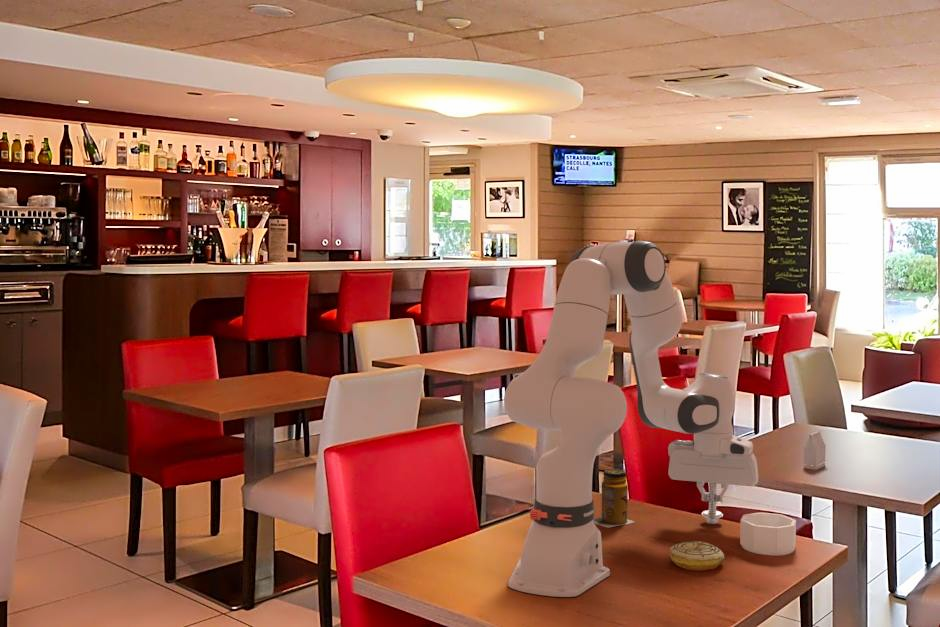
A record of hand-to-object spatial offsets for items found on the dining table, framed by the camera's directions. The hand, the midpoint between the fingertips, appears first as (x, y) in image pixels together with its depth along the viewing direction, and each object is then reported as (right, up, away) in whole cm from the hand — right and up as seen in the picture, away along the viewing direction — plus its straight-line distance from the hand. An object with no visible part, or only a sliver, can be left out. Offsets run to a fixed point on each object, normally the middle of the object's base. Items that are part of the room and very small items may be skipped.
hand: (712, 501), depth 223 cm
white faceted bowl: (+7, -6, -18) cm, 20 cm away
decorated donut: (-10, -8, -28) cm, 31 cm away
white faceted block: (+44, -1, +55) cm, 71 cm away
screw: (0, -5, 0) cm, 5 cm away
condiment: (-23, -5, +2) cm, 24 cm away
